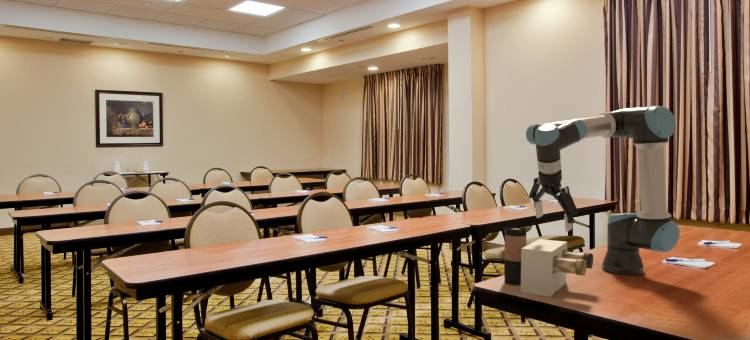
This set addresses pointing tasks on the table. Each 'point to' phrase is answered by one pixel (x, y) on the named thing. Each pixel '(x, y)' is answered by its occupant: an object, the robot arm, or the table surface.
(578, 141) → the robot arm
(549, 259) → the housing
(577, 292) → the table surface
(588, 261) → the tan cylindrical part
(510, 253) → the travel mug
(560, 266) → the brass plunger
